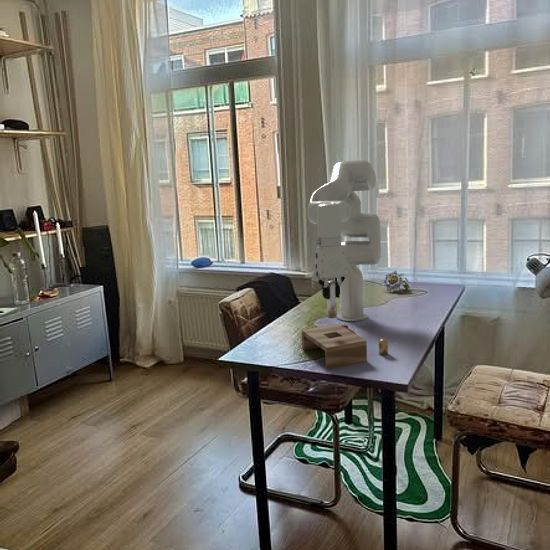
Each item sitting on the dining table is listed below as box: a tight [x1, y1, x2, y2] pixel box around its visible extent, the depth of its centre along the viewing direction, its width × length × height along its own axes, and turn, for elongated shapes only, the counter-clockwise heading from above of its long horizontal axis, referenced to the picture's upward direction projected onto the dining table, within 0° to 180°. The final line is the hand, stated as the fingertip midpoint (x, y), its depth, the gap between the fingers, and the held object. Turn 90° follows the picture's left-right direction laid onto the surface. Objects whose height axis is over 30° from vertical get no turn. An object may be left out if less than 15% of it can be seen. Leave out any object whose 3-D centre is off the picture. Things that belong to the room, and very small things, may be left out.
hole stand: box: [301, 324, 368, 370], centre depth 177 cm, size 20×14×7 cm
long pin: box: [326, 280, 338, 319], centre depth 173 cm, size 3×3×12 cm
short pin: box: [378, 337, 389, 356], centre depth 175 cm, size 3×3×5 cm
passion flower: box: [380, 270, 411, 294], centre depth 256 cm, size 11×11×12 cm
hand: (331, 297), depth 173 cm, fingers closed on long pin, 3 cm apart
